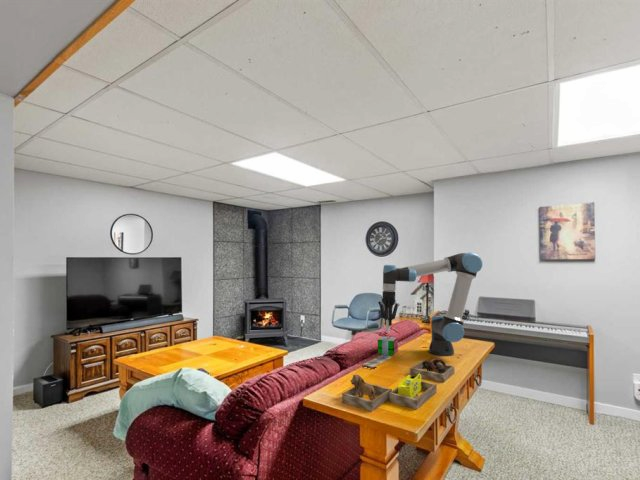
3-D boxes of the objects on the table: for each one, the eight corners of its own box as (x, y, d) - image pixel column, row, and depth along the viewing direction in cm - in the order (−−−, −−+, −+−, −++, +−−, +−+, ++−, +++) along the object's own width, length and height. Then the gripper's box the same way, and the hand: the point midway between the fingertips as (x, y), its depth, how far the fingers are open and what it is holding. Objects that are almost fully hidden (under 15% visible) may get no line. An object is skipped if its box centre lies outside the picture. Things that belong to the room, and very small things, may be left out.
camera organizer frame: (436, 392, 151) (436, 384, 151) (417, 409, 133) (417, 400, 134) (410, 386, 158) (410, 378, 158) (389, 401, 141) (389, 393, 141)
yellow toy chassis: (411, 404, 139) (410, 383, 139) (397, 401, 142) (397, 380, 142) (422, 391, 152) (422, 372, 153) (409, 389, 155) (409, 370, 156)
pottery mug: (444, 371, 181) (448, 360, 177) (443, 384, 173) (447, 373, 169) (421, 363, 184) (424, 352, 180) (419, 376, 176) (422, 365, 172)
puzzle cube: (398, 354, 213) (397, 337, 213) (393, 358, 204) (393, 341, 204) (382, 352, 217) (382, 336, 218) (377, 356, 208) (377, 339, 209)
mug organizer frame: (454, 373, 177) (454, 366, 177) (443, 382, 163) (443, 374, 163) (422, 366, 187) (422, 360, 187) (410, 375, 174) (410, 368, 174)
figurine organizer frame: (391, 397, 145) (391, 389, 145) (372, 411, 132) (372, 402, 132) (363, 389, 154) (363, 382, 154) (342, 402, 140) (342, 393, 140)
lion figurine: (348, 395, 146) (348, 374, 147) (356, 392, 150) (356, 371, 150) (375, 407, 136) (376, 385, 136) (383, 404, 139) (384, 381, 140)
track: (392, 359, 200) (392, 357, 200) (373, 369, 182) (373, 366, 182) (381, 357, 204) (381, 355, 205) (361, 367, 186) (361, 364, 186)
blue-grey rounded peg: (390, 356, 201) (389, 338, 202) (386, 358, 198) (386, 339, 198) (383, 355, 204) (383, 337, 204) (380, 357, 200) (380, 338, 201)
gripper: (376, 290, 204) (375, 330, 203) (396, 292, 196) (395, 333, 195) (382, 289, 210) (381, 328, 209) (401, 291, 202) (400, 331, 201)
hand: (387, 330), depth 202 cm, fingers closed
